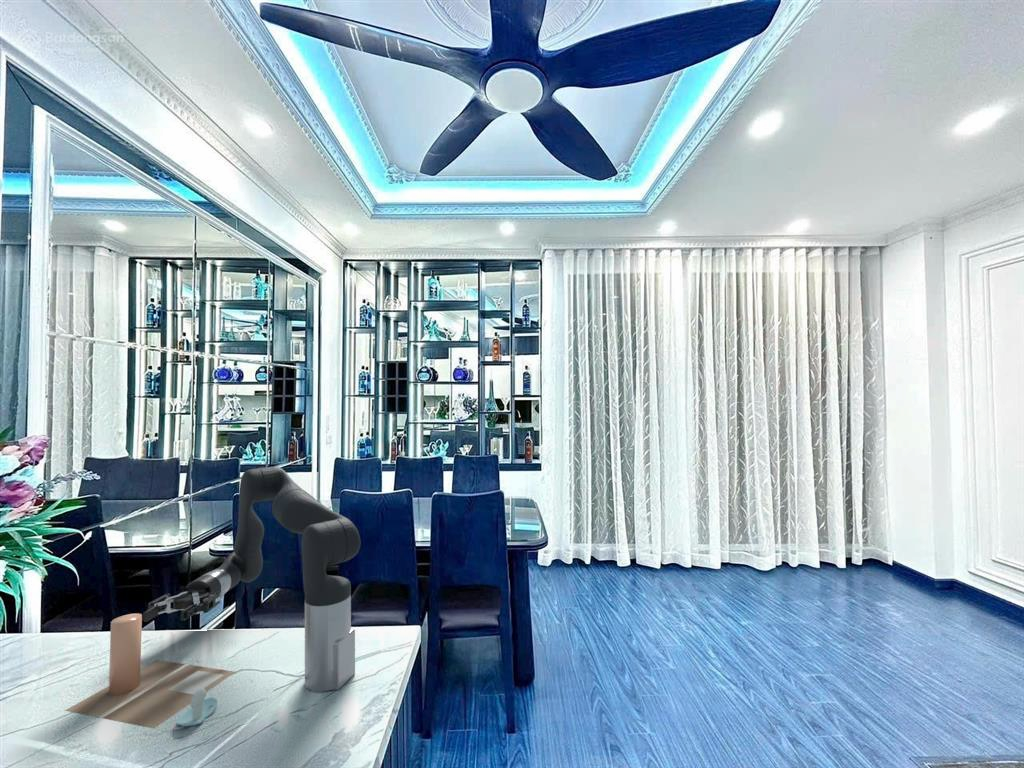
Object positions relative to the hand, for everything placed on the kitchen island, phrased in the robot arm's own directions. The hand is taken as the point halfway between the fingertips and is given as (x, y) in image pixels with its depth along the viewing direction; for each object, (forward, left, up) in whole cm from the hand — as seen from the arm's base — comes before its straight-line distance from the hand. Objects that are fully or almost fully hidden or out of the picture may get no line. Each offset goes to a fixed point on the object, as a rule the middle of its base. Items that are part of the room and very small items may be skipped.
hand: (163, 617), depth 108 cm
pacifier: (-25, +15, -10) cm, 31 cm away
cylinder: (-3, +11, -9) cm, 14 cm away
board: (-10, +10, -10) cm, 17 cm away
